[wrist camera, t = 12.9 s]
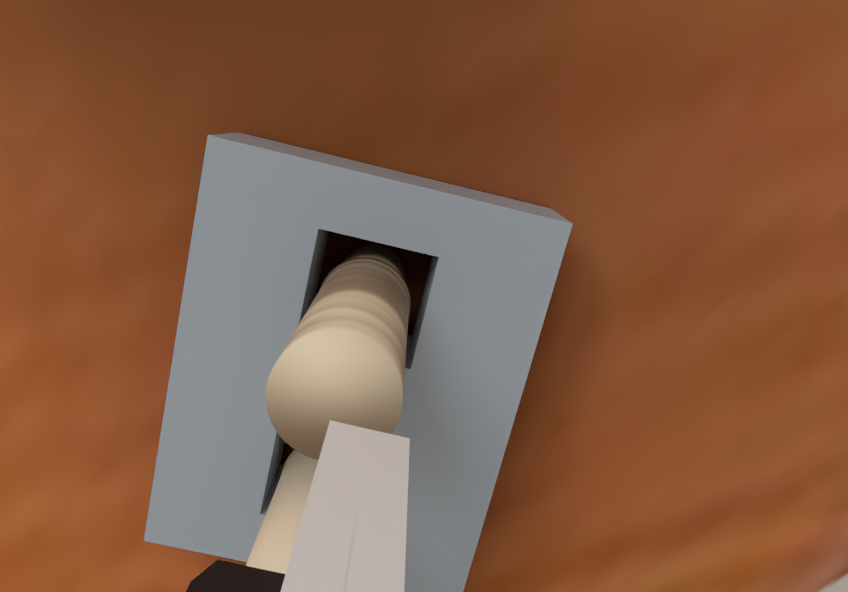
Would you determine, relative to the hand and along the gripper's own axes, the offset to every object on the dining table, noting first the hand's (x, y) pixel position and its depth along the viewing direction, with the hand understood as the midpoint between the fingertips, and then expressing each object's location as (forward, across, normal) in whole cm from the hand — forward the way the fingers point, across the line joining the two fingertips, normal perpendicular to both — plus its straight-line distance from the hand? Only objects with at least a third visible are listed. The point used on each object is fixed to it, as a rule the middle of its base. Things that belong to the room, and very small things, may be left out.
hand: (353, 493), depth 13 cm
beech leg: (+23, -1, -2) cm, 23 cm away
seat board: (+23, -1, -6) cm, 24 cm away
